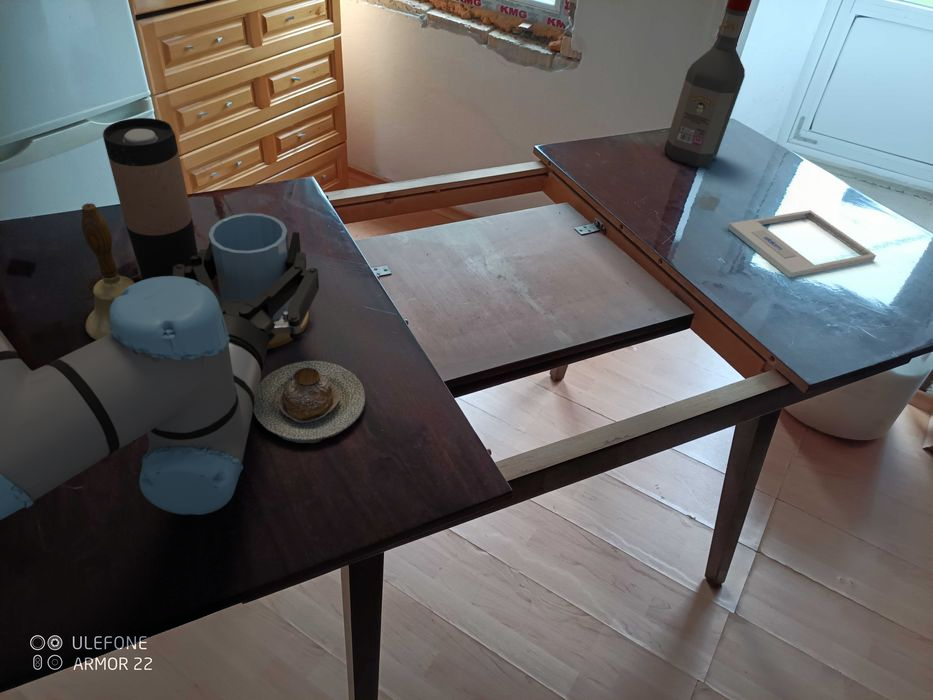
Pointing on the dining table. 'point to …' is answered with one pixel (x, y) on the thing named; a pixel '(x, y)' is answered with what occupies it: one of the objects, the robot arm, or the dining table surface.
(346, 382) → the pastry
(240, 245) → the mug
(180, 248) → the travel mug
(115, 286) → the hand bell
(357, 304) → the dining table surface
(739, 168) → the dining table surface
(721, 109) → the liquor
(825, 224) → the photo frame
